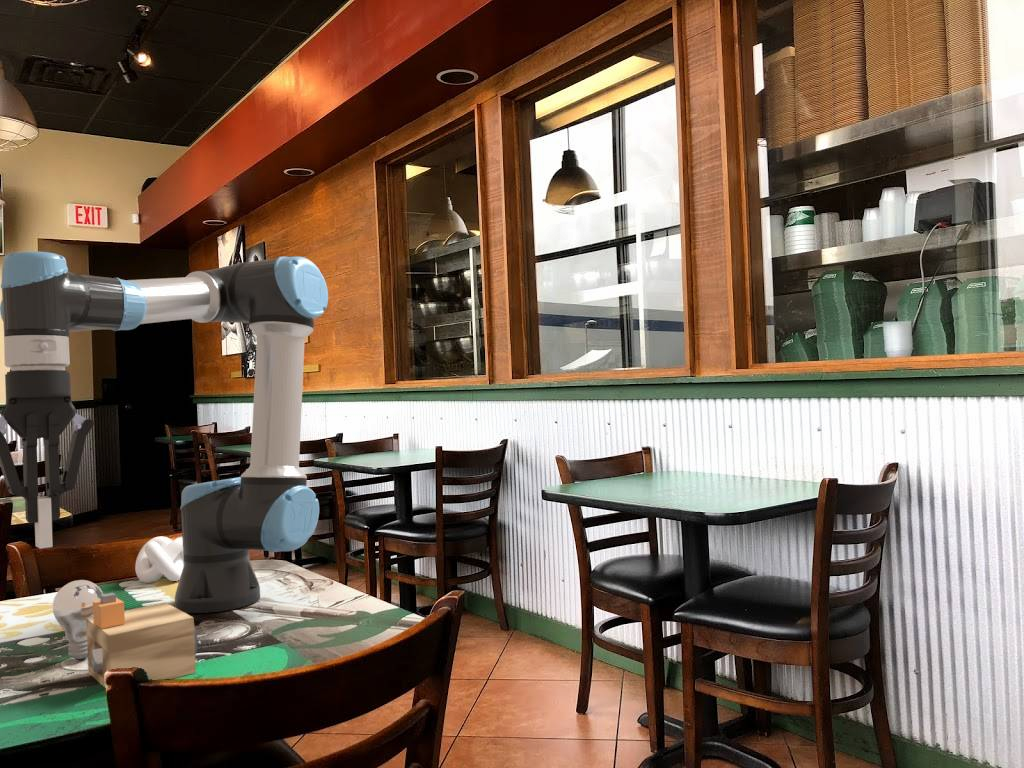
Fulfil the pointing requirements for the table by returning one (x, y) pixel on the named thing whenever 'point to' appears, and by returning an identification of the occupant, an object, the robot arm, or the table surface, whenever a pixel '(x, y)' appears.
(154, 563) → the white knot sculpture
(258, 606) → the table surface
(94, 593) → the light bulb
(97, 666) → the pin
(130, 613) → the block
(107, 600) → the bar
